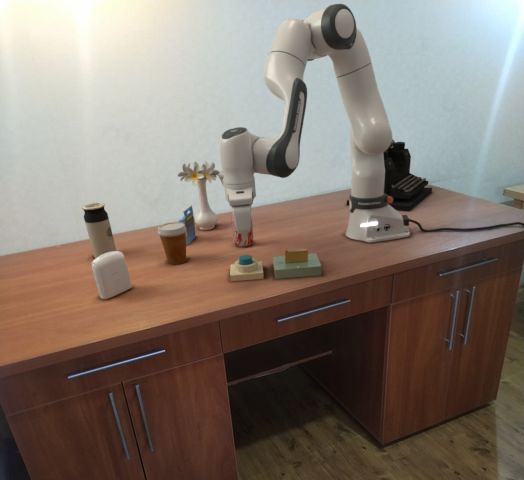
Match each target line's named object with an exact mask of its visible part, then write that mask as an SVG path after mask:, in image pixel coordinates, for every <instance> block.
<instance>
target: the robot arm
mask: <svg viewBox="0 0 524 480" xmlns="http://www.w3.org/2000/svg"><path fill="white" fill-rule="evenodd" d="M327 56H328V57H329V58H330V60H331V62H332V64H333V70H334V75H335V78H336V82H337V86H338V89H339V93H340V96H341V100H342V103H343V104H342V105H343V106H344V109H345V112H346V114H347V116H348V120H349V123H350V127H349V145H350V147H349V148H350V165H351V185H350V186H351V187H350V188H351V189H350V194H349V199H348V200H349V205H348V210H349V216H348V217H349V218H348V223H347V227H346V231H345V234H344V235H345V236H346V237H347V238H348V239H352V240H355V241H362V242H366V243H369V244H370V243H371V244H372V243H373V244H374V243H379V242H380V243H381V242H384V241H393V240H398V239H405V238H409V237H410V236H411V230H410V229H409V226H410V223H413V224H415V225H417V226H418V228H419V230H420V231H421V232H424V233H434V232H440V231H450V232H451V231H453V232H470V231H473V232H474V231H482V230H483V231H484V230H491V229H496V228H501V227H510V226H516V225H517V226H523V227H524V222H522V221H515V222H509V223H499V224H495V225H494V224H493V225H489V226H479V227H466V228H465V227H464V228H463V227H462V228H461V227H455V228H454V227H437V228H434V229H425V228H423V227H422V225H421V223H420V222H418V221H417V220H415V219H411V218H409V216H408V215H407V214H401V213H400V211H399V210H395V209H394V208H393V207H391V206H390V205H389V204H388V203H392V202H393V198H392V197H391V196H388V195H387V194H385V193H384V181H385V166H384V155H383V152H385V151H386V150H387V149H388V148H389V146H390V144H391V142H392V139H393V130H392V127H391V124H390V120H389V118H388V115H387V111H386V108H385V105H384V102H383V99H382V97H381V94H380V91H379V88H378V83H377V79H376V75H375V72H374V67H373V63H372V59H371V55H370V52H369V49H368V45H367V43H366V40H365V38H364V36H363V34H362V32H361V31H360V29H359V28H358V27H357V21H356V18H355V15H354V13H353V12H352V10H351V8H350V7H349V6H347V5H346V4H345V3H334V4H330V5H329V6H327V7H324V8H321V9H318V10H317V11H314V12H313V13H312V14H311V15H309V16H307V17H306V18H305V19H300V18H295V17H293V18H292V17H291V18H287V19H285V20H284V21H282V23H281V24H280V26H279V27H278V29H277V31H276V33H275V35H274V36H273V40H272V42H271V45H270V47H269V50H268V54H267V57H266V61H265V63H264V67H263V81H264V83H265V86H266V88H267V89H268V90H269V91H270V93H272V94H273V95H274V96H275V97H276V98H278V99H280V100H281V101H283V102H284V113H283V119H282V124H281V131H280V134H278V136H276V137H265V136H259V135H256V134H253V133H251V132H250V131H249V129H248V128H247V127H243V126H240V127H239V126H238V127H234V128H233V127H232V128H229V129H227V130H225V131H224V132H222V134H221V135H220V141H219V153H220V154H219V157H220V165H221V168H222V169H223V172H224V178H223V189H224V190H223V191H224V198H225V200H226V201H227V202H228V205H229V206H230V208H231V211H232V215H233V216H234V220H235V225H236V229H237V232H238V233H239V234H241V235H242V240H248V233H249V232H250V229H251V217H252V205H253V204H254V201H255V198H256V197H257V190H256V189H257V188H256V178H255V175H254V174H261V175H269V176H273V177H276V178H281V179H285V178H288V177H289V176H291V175H292V174H293V173H294V172H295V171H296V169H297V168H298V167H299V163H300V156H301V155H300V154H301V153H300V152H301V150H300V149H301V139H302V132H303V128H304V122H305V115H306V109H307V103H308V102H307V101H308V87H307V84H306V82H305V81H304V75H305V72H306V68H307V65H308V62H312V61H314V60H317V59H321V58H325V57H327ZM222 169H221V170H222Z"/></svg>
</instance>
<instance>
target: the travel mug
mask: <svg viewBox="0 0 524 480" xmlns="http://www.w3.org/2000/svg"><path fill="white" fill-rule="evenodd" d="M81 209H82V210H83V212H84V213H83V214H84V215H83V220H84V224H85V227H86V232H87V234H88V238H89V242H90V246H91V251H92V253H93V257H94V259H96V258H97V257H99V256H101V255H103V254H105V253H108V252H113V251H117V248H116V243H115V239H114V234H113V230H112V226H111V222H110V218H109V213H108V212H107V211H106V209H105V203H104V202H92V203H87V204H84V205H83V206H81Z"/></svg>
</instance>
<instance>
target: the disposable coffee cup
mask: <svg viewBox="0 0 524 480" xmlns="http://www.w3.org/2000/svg"><path fill="white" fill-rule="evenodd" d="M186 229H187V228H186V227H185V225H184V223H181V222H178V221H173V222H166V223H163V224H160V225H159V226H158V227H157V234H158V235H159V237H160V241H161V244H162V247H163V250H164V253H165V256H166V260H167V263H169V264H171V265H178V264H182V263H185V262H186V261H187V245H186Z"/></svg>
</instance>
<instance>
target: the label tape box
mask: <svg viewBox="0 0 524 480" xmlns="http://www.w3.org/2000/svg"><path fill="white" fill-rule="evenodd" d="M193 209H194V208H193V205H192V204H191V205H190V206H188V208H186V209H184V210H183V216H182V217H181V218H180V219H179V220H178V221H177V222H181V223H184V225H185V227H186V228H187V229H186V246H189V245H190V244H191V243H192V241H193V240H194V239H195V238H196V237H197V235H196V234H197V233H196V223H195V221H194V219H195V216H194V210H193Z"/></svg>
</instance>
